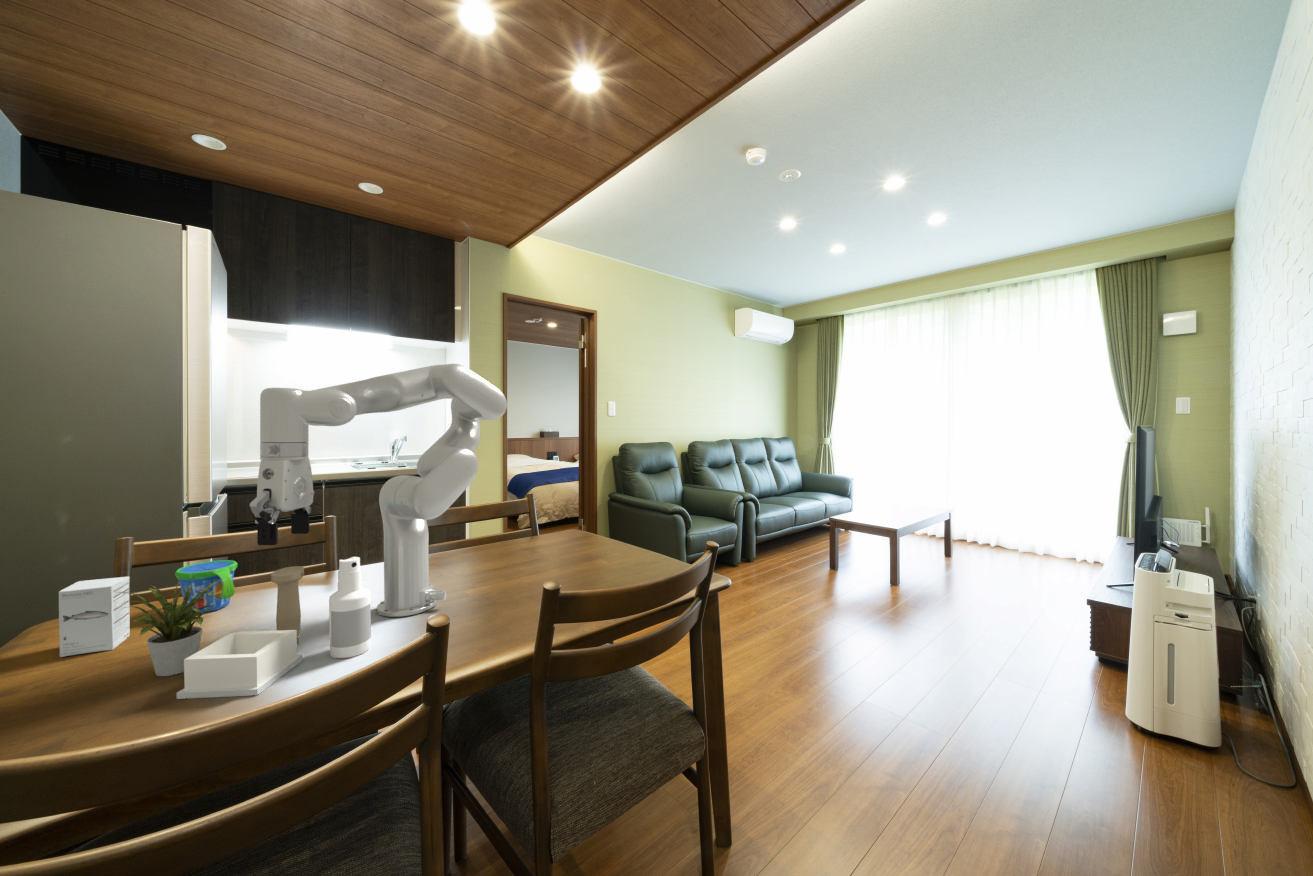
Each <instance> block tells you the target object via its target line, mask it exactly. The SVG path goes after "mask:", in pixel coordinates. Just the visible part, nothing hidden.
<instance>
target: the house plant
mask: <svg viewBox="0 0 1313 876" xmlns="http://www.w3.org/2000/svg"><path fill="white" fill-rule="evenodd" d="M183 577H184V576H183ZM183 577H182V578H183ZM182 578H181V579H182ZM181 579H180V580H181ZM219 581H220V580H219ZM219 581H216V582H214V583H212V584H211V585H209V586H208V587H206V588H205V589H204V590H203V591H202V592H201V593H200V594H199V595H198V596H196V597H195V598H194V599H192V600H191V601H190V602H189V603H188V605H187V601H188V599H189V597H190V593H191V583H190V584H189V586H188V589H187V591H186V593H185V596H184V600H183V599H182V602H181V603H180V604H178V600H179V597H180V595H181V593H182V590H183V589H182V590H181V589H180V591H179V592H178V593H177V590H178V589H177V588H178V586H179V585H180V581H179V580H178V582H177V584H176V587H175V590H174V594H173V601H168V600H167V598H166V597H165V596H164V595H163V593H162V591H161V590H160V589H159V588H158V587H156V586H154V585H150V586H151V587H152V588H151V587H148V589H149V590H150V591H151V594H153V595H154V596H155V599H156V600H157V601H158V602H159V604H160V605H161V607H162V609H163V612H164V613H162V612H161V610H159V609H158V607H156V606H155V605H153V604H152V603H150V602H149V601H148V600H147V599H146V598H144V597H143V596H141V595H139V594H138V593H134V592H129V595H133V596H135V597H137V598H139V599H140V600H132V601H130V603H134V602H135V603H140V604H143V605H145V606H146V607H148V608H150V609H152V611H154V612H155V614H157V616H158V617H159V618H160V619H161V620H162V621H163V622H162V621H158V620H157V618H155V616H153V615H152V614H151V613H149V612H148V611H147V610H146V609H144V608H142V607H139V606H131V605H130V608H135V609H138V610H140V611H142V612H143V613H144V614H146V615H143V616H140V617H137V618H136V619H134V620H133V621H132V622H133V623H136V622H142V623H140V625H138V628H139V627H140V628H141V629H140V633H139V638H140V637H141V636H142V635H143V634H145V633H147V632H148V631H150V632H152V633H154V635H152V636H151V637H149V638H148V639H147V640H146V643H147V647H148V650H149V654H150V657H151V662H152V665H153V669H154V672H155V675H156V676H157V677H169V676H174V674H175V675H178V673H179V674H181V673H182V674H183V673H184V659H186V658H188V657H189V656H191V655H193V654H195V653H196V652H198V651H200V645H201V640H202V639H201V638H202V634H203V628H202V627H201V626H202V624H203V623H204V618H203V617H202V616H203V615H205V613H208V612H207V611H209V610H212V609H208V610H206V611H204V612H202V613H199V612H200V610H202V609H204V608H207V607H209V606H213V605H208V606H203V607H200V608H197V609H196V608H194V609H193V607H194V606H195V604H196V603H197V602H198V601H199V600H200V598H201V597H202V596H203V595H204V594H205V593H207V591H208V590H209V589H210V588H211V587H212V586H213V585H214V584H216V583H217V582H219ZM186 587H187V586H186ZM153 588H154V589H153ZM118 593H128V592H118ZM176 594H177V595H176ZM125 603H127V602H125ZM121 604H122V603H121ZM186 605H187V606H186ZM215 605H217V604H215ZM125 608H126V607H125ZM192 609H193V610H192ZM191 610H192V611H191ZM198 613H199V615H198ZM195 623H198V624H199V625H200V626H194V625H195ZM142 624H149V625H147V626H146V625H145V626H142ZM133 627H134V625H132V626H131V625H130V628H133ZM127 628H128V627H127ZM153 628H155V629H157V630H158V631H159V632H158V631H156V630H154V629H153Z"/></svg>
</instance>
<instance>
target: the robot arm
mask: <svg viewBox="0 0 1313 876" xmlns="http://www.w3.org/2000/svg"><path fill="white" fill-rule="evenodd" d="M259 399H260V400H259V401H260V402H259V408H260V409H259V415H260V416H259V419H260V420H259V422H260V423H259V425H260V426H259V434H260V435H259V441H260V443H259V459H260V462H259V467H258V476H257V485H256V486H257V487H256V488H257V489H256V497H255V498H254V499H253V500H252V501H250V502H249V508H250V510H251V513H252V515H251V516H252V517H253V519H254V524H255V525H257V528H256V530H257V531H256V532H257V533H256V534H257V535H256V536H257V538H256V539H257V545H258V546H276V545H278V543H279V530H278V529H279V523H278V522H277V519H278V518H279V515H280V513H281V512H285V513H286V512H288V513H289V512H293V513H292V514H290V517H291V518H290V519H291V522H290V523H291V525H290V526H291V529H290V530H291V532H290V533H291V534H292V535H294V534H295V535H301V534H302V535H303V534H304V535H305V534H309V533H310V514H311V512H312V508H311V507H312V505H313V503H314V496H315V490H314V482H313V473H312V465H311V461H310V457H309V440H310V439H309V431H310V429H309V426H315V427H341V426H344V425H347V424H348V423H350V422H351V421H352V420H353V419H354V418H355V416H360V415H367V414H377V413H381V414H382V413H391V412H397V411H403V410H405V409H409V408H412V407H417V406H421V405H424V404H428V403H431V402H435V401H439V400H440V401H441V400H446V399H447V400H448V399H451V402H450V411H451V412H450V413H451V423H450V426H449V428H448V429H447V430H446V431H445V432H444V433H443V434H442V436H440V437H439V438H438V440H436V441H435V442H433V444H432V445H431V446H430V447H428V449H427V450H425V451H424V452H423V453H422V454H421V455H420V457H419V458H418V460H417V463H416V471H417V474H418V475H419V476H415V475H407V474H406V475H403V474H402V475H397V476H394V477H391V478H389V479H388V480H387V481H386V482H385V483H384V484H383V485H382V487H381V488H380V490H379V496H378V497H379V498H378V503H379V508H380V509H379V510H380V514H381V518H382V519H381V520H382V526H383V527H382V528H383V580H384V581H383V583H384V585H383V586H384V587H383V589H384V591H383V593H384V594H383V595H384V596H383V597H384V598H383V601H381V602H379V604H377V606H376V613H377V614H379V615H380V616H382V617H388V618H389V617H390V618H396V617H397V618H398V617H408V616H412V615H418V614H421V613H425V612H426V611H429V610H430V609H432V608H434V606H435V605H436V603H437V601H438V602H439V601H446V600H447V596H448V595H447V591H445V589H437V590H436V589H434V584H433V583H430V580H429V579H430V578H429V574H430V573H429V567H430V566H429V565H430V564H429V562H430V561H429V541H430V540H429V538H430V537H429V535H430V533H429V526H428V521H429V520H434V519H436V518H438V517H440V516H441V515H443V514H444V513H445V512H446V511H447V510H448V509H449V508H450V507H451V506H452V505H453V504H454V503H455V502H456V501H457V499H458V498H459V497H460V496H461V495H462V494H463V493H464V492H465V491H466V490H467V489H468V488H469V486H470V485H471V484H472V483H473V482H474V480H475V478H476V476H477V473H478V471H479V460H478V457H477V456H476V453H474V451H475V450H476V449H477V448H478V446H479V445H480V443H481V425H480V424H481V423H480V422H481V421H494V420H498V419H499V418H502V417H503V416H504V415H505V413H506V411H507V408H508V402H507V398H506V396H505V394H504V393H503V391H502V390H501V389H500V388H499V387H496V386H495V385H494V384H492V383H491V382H490V381H488V380H486V379H485V378H483V377H482V376H480V375H479V374H477V373H476V372H475V371H473V370H472V369H470V368H468V367H466V366H464V365H462V364H459V363H446V364H434V365H428V366H423V367H419V368H413V369H410V370H403V371H398V372H393V373H388V374H384V375H379V376H374V377H370V378H366V379H363V380H358V381H352V382H348V383H347V382H346V383H343V384H337V385H333V386H332V385H331V386H328V387H322V388H317V389H313V390H303V389H301V388H300V389H299V388H291V387H267V388H264V389H262V390H261V393H260V398H259Z"/></svg>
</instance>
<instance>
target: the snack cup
mask: <svg viewBox="0 0 1313 876" xmlns="http://www.w3.org/2000/svg"><path fill="white" fill-rule="evenodd" d="M237 568H238V562H236V561H235V560H233V559H231V560H230V559H229V560H228V559H225V560H223V559H222V560H209V561H204V562H198V563H194V564H188V565H186V566H182V567H180V568H178V569H177V570H176V571H175V573H174V575H175V577H176V578H177V580H178V582H179V581H180V582H179V586H180V591H181V590H182V589H183V590H182V591H181V595H182V601H183V600H184V596H185V593H186V591H187V589H188V586H189V584H190V583H191V593H190V597H189V599H188V601H187V605H188V603H189V602H190V601H191V600H192V599H194V598H195V597H196V596H198V595H199V594H200V593H201V592H202V591H203V590H204V589H205V588H206V587H208V586H209V585H211V584H212V583H214V582H216V581H219V580H220V581H219V582H217V583H216V584H214V585H213V586H212V587H211V588H210V589H209V590H208V591H207V593H205V594H204V595H203V596H202V597H201V598H200V600H199V601H198V602H197V603H196V604H195V606H194V607H193V609H194V608H196V609H197V608H200V607H203V606H208V605H213V606H209V607H207V608H204V609H202V610H200V612H199V613H198V614H199V615H200V614H201V613H202V612H204V611H206V610H208V609H212V610H209V611H207V612H206V613H209V612H214V611H218V610H221V609H223V608H224V607H226V606H228V605H229V604H230V601H231V598H232V597H233V596H234V595H235V592H236V591H235V589H236V588H235V585H234V577H235V576H234V575H235V572H236V569H237ZM183 576H184V577H183ZM182 577H183V578H182ZM181 578H182V579H181ZM180 579H181V580H180ZM186 586H187V587H186ZM215 604H217V605H215ZM187 605H186V606H187ZM193 609H192V610H193ZM192 610H191V611H192ZM198 614H197V615H198Z"/></svg>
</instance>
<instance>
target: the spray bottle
mask: <svg viewBox="0 0 1313 876" xmlns="http://www.w3.org/2000/svg"><path fill="white" fill-rule="evenodd" d="M338 563H339V564H338V565H339V566H338V567H339V568H338V571H337V590H336V591H335V592H334V593H332V594H331V595H330V596H329V599H328V605H329V607H328V608H329V609H328V611H329V612H328V614H329V615H328V617H329V620H328V621H329V622H328V623H329V625H328V627H329V655H330V656H331V657H332V658H335V659H347V658H353V657H357V656H359V655H362V654H364V653H366V652H368V651H369V650H370V648H371V647H372V633H371V631H372V629H371V627H372V625H371V622H372V621H371V613H372V612H371V591H370V589H368V588H365V587H363V579H362V567H361V557H359V556H351V557H349V558H345V559H339V561H338Z"/></svg>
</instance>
